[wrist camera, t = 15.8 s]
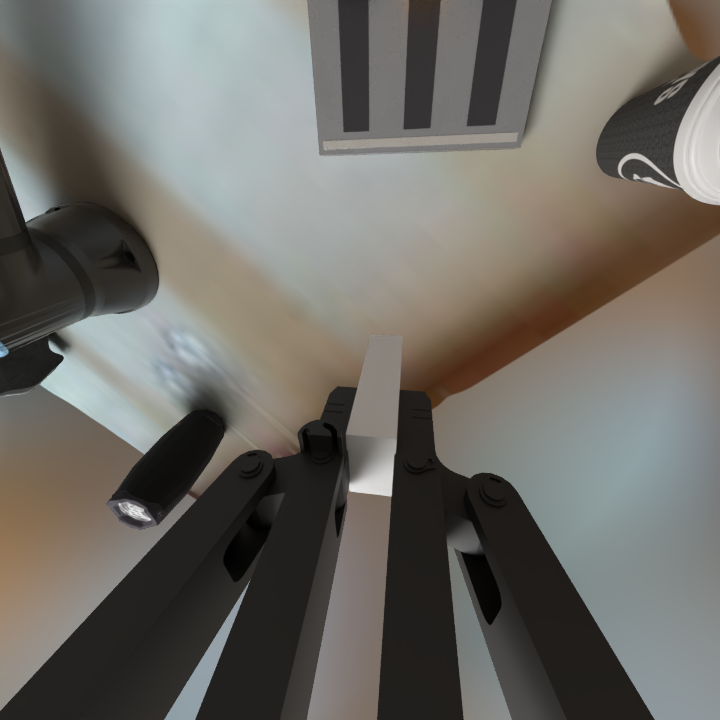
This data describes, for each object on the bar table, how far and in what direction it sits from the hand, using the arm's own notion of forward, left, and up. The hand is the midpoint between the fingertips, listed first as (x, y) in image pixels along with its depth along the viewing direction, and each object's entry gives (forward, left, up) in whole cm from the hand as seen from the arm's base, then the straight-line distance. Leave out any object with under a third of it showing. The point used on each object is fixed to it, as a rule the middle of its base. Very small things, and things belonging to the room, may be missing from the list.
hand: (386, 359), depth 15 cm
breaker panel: (-10, +16, -26) cm, 32 cm away
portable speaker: (-11, -49, -27) cm, 57 cm away
